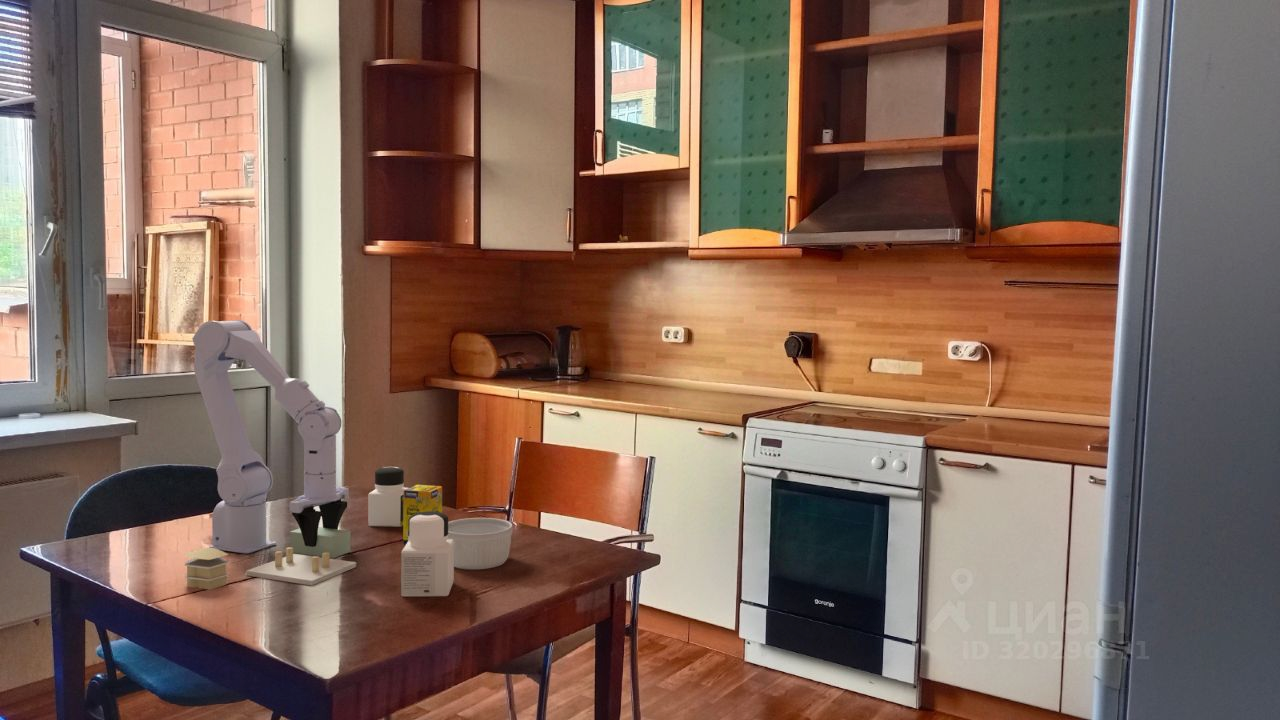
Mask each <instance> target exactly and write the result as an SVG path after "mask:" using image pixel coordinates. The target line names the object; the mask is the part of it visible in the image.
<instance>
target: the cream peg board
mask: <svg viewBox="0 0 1280 720" xmlns="http://www.w3.org/2000/svg"><path fill="white" fill-rule="evenodd" d="M354 568H357V562H355V561H350V560H349V561H348V560H343V559H342V560H341V559H336V558H330V553H328V552H326V553H322V557H320V556H313V555H306V554H299V553H293V548H292V547H290V546H289V547H286V548H285V556H284V557H283V550H281V551H280V550H278V551H277V550H276V551H274V560H272V561H270V562H267V563H264V564H262V565H258V566H256V567H252V568H250V569H248V570H246V571H245V576H248V577H254V578H261V579H268V580H275V581H281V582H287V583H293V584H299V585H301V584H302V585H306V586H314V585H316V584H318V583H321V582H324V581H326V580H327V579H331V578H332V577H335V576H337V575H340V574H342V573H345V572H347V571H349V570H351V569H354Z"/></svg>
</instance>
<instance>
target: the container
mask: <svg viewBox="0 0 1280 720" xmlns="http://www.w3.org/2000/svg"><path fill="white" fill-rule="evenodd" d="M448 522H449V517H448V515H447V514H445V513H443V512H442V513H441V512H435V511H425V512H419V513H416V514H414V515H412V516H410V518H409V519H408V540H409V541H408V542H407V544H405V546H404V547H403V548H402V550H401V555H400V556H401V566H400V567H401V568H400V571H401V572H400V573H401V575H400V577H401V578H400V583H401V584H400V585H401V586H400V587H401V588H400V589H401V590H400V591H401V593H400V594H401V597H448V596H449V594H450V592H451V589H452V586H453V584H454V581H455V580H454V579H455V578H454V577H455V574H454V573H455V567H454V540H453V539H448Z"/></svg>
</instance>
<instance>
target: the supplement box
mask: <svg viewBox="0 0 1280 720" xmlns="http://www.w3.org/2000/svg"><path fill="white" fill-rule="evenodd" d="M408 488H409V489H405V490H404V510H403V525H402V528H403V531H402V533H403V534H402V537H403V538H402V544H405V545H406V544H407V542H408V541H409V540H408V519H409V518H410V516H412V515H414V514H416V513H419V512H425V511H435V512H441V513H443V486H441V485H426V484H415V485H414V486H411V487H408Z"/></svg>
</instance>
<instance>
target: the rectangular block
mask: <svg viewBox="0 0 1280 720" xmlns="http://www.w3.org/2000/svg"><path fill="white" fill-rule="evenodd" d="M289 547H292V548H293V554H300V555H307V556H314V557H315V556H318V557H321V558H322V553H326V552H328V553H330V559H336V558H338V557H340V556H343V555H346V554H348V553H351V531H350V530H343V529H338V530H337V529H329V528H323V526H322V527H321V526H318V536H317V543H316V546H315V547H310V546H305V544H304V540H303V536H302V533H301V530H300V527H299V528H297V529H294V530H290V531H289Z"/></svg>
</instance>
